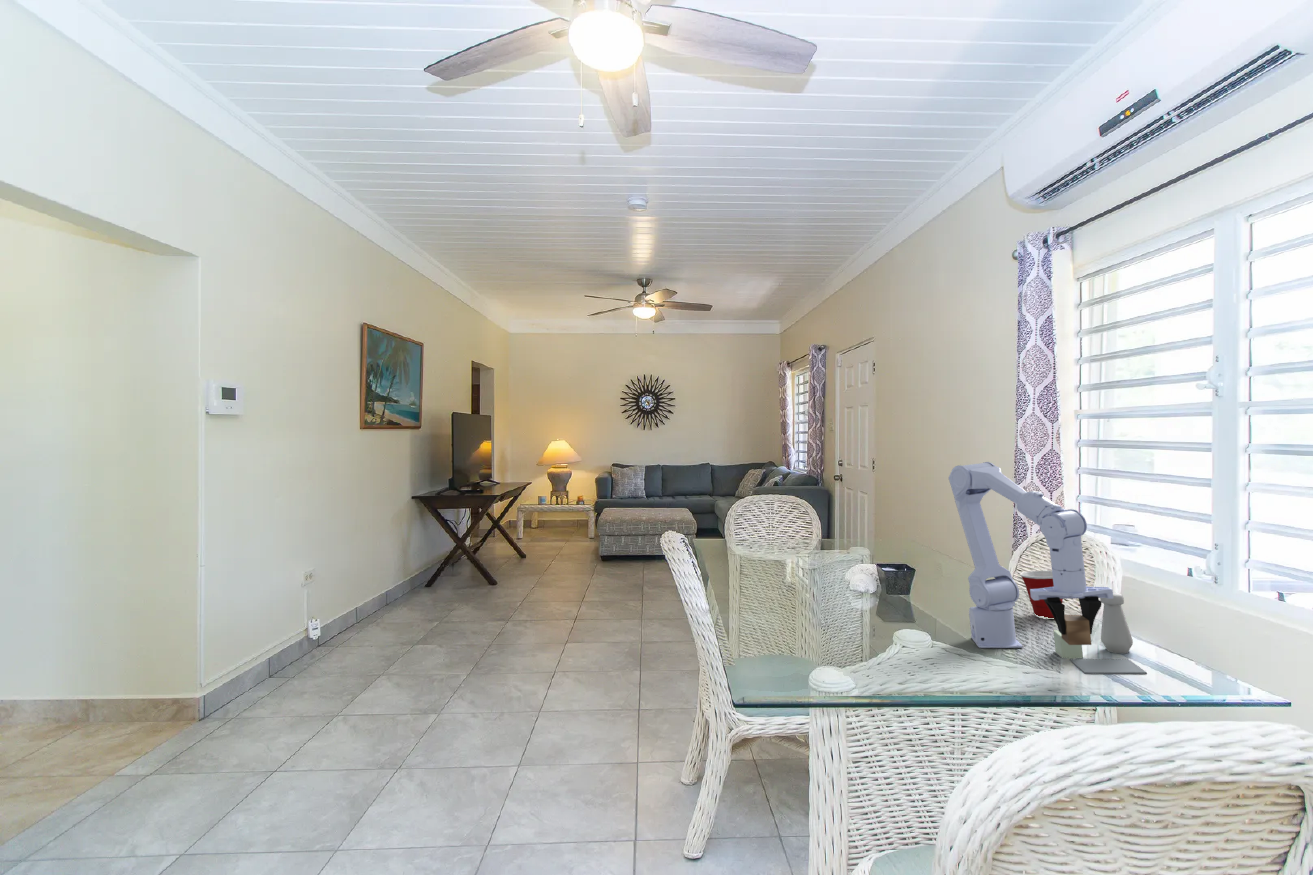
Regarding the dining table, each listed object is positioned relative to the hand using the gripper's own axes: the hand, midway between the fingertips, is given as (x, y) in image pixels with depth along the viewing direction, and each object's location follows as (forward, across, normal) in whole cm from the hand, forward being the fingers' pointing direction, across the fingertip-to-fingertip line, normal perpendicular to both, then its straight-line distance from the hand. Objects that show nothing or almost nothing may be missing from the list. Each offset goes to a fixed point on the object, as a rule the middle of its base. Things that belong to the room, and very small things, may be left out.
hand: (1075, 632), depth 124 cm
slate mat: (+8, +6, +3) cm, 11 cm away
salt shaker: (+9, +12, +13) cm, 20 cm away
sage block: (+8, +2, +10) cm, 14 cm away
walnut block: (+2, 0, 0) cm, 2 cm away
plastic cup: (+9, +6, +38) cm, 40 cm away
